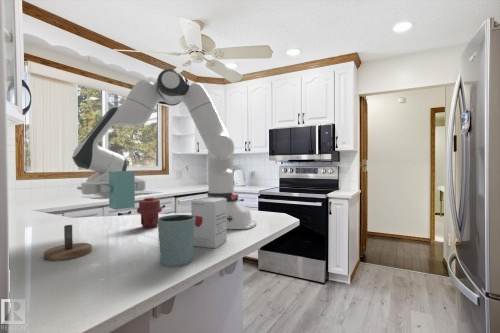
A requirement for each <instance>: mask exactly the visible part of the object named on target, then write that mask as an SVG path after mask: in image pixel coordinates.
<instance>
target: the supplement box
mask: <svg viewBox="0 0 500 333" xmlns="http://www.w3.org/2000/svg"><path fill="white" fill-rule="evenodd" d="M207 197H208V196H205V197H200V198H197V199H192V200H191V206H190V208H191V213H190V214H191V215H192V216H195V218H196V219H195V228H194V246H193V247H201V248H206V249H207V248H208V249H217V248H218V247H219V246H221V245H223V244H224V243H226V242H227V237H228V236H227V230H228V229H227V199H226V198H207Z"/></svg>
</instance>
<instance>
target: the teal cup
mask: <svg viewBox="0 0 500 333" xmlns="http://www.w3.org/2000/svg"><path fill="white" fill-rule="evenodd" d="M195 219H196V218H195V216H192V214H171V215H163V216H159V217H158V219H157V222H158V227H157V230H158V231H157V232H158V242H159V252H160V254H159V256H160V257H159V258H160V263H161V265H162V266H163V267H168V268H176V267H183V266H187V265H189V264H191V263H192V262H193V259H194V247H195V246H194V228H195Z"/></svg>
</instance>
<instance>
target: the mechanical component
mask: <svg viewBox="0 0 500 333" xmlns="http://www.w3.org/2000/svg"><path fill="white" fill-rule="evenodd" d="M162 211H163V207H162V206H161V200H160V199H156V198H155V197H145V198H144V199H143V200H142V199H141V200H139V201H138V208H137V209H136V212H137V214H140V225H141V226H142V227H141V228H142V229H143V230H144V229H149V228H151V229H152V228H153V227H155V228H158V222H157V219H158V218H159V213H161V212H162Z"/></svg>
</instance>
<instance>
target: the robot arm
mask: <svg viewBox="0 0 500 333" xmlns="http://www.w3.org/2000/svg"><path fill="white" fill-rule="evenodd" d="M189 81H190V80H188V78H186V77H185V76H183V75H182V74H181V73H180V72H179V71H177V70H176V69H173V68H167V69H164V70H162V71H161V72H160V73H159V74H158V76H157V79H156V82H153V81H150V80H149V79H148V80H147V79H140V80H138V81H137V82H136V83H135V84H134V85H133V87H131V90H129V93H128V94H127V96H126V98H125V100H124V102H123V103H122V104H120V105H119V106H113V107H111V108H110V109H108V111H106V113H105V114H103V116H102V117H101V118H100V119H99V121H98V122H97V124H95V126H94V127H92V130H91V131H90V132H89V133H88V134H87V136H86V137H85V138H84V139H83V140H82V141H81V143H79V144H78V145H77V147H76V148H75V149H74V150H73V153H72V157H71V158H72V160H73V162H74V164H75V165H76V166H77V167H78V168H81V169H86V170H90V171H93V172H95V173H94V174H92V175H90V176H88V178H87V179H86V181H85V182H81V184H80V186H77V187H76V189H77V190H80V191H81V194H82V195H84V196H87V195H94V196H97V197H100V198H101V197H102V198H105V199H109V192H111V191H113V186H109V171H127V170H128V168H127V167H128V164H127V160H126V157H125V155H123V154H120V153H117V152H116V151H114V150H113V151H112V150H110V149H108V148H106V147H103V146H101V145H99V143H100V142H101V140H102V139H103V138H104V136H105V135H106V134H107V132H108V131H109V130H110V129H111V128H112V127H114V126H116V125H117V126H118V125H119V126H121V125H122V126H130V127H138V126H143V125H145V124H146V123H147V122H148V121H149V119H150V118H151V116H152V114H153V112H154V109H155V108H156V106H157V104H160V105H166V106H171V107H172V106H177V105H178V104H180V103H181V102H182V103H183V104H184V105H185V106H186V108H187V110H188V112H189V115H190V117H191V119H192V120H193V123H194V125H195V127H196V129H197V131H198V133H199V135H200V137H201V140H202V141H203V144H204V145H205V147H206V149H207V152H208V153H207V157H208V158H207V159H208V160H207V163H208V169H207V170H208V171H207V172H208V174H207V176H208V178H207V179H208V180H207V181H208V182H207V183H208V192H207V196H206V197H207V198H226V199H227V230H248V229H253V228H254V227H255V226H257V220H255V219H253V218H252V214H251V211H250V209H249V208H248V207H247V206H246V205H244V204H243V203H241V201H239V193H236V192H235V191H234V189H235V188H234V183H235V182H234V165H233V164H234V163H233V154H234V152H235V143H234V140H233V139H232V137H231V135H230V133H229V132H228V130H227V128H226V126H225V124H224V122H223V121H222V119H221V117H220V115H219V113H218V110H217V108H216V106H215V104H214V102H213V100H212V98H211V96H210V94H209V92H207V90H206V88H205V87H204V86H203V85H202V84H201V83H200V82H192V83H190V82H189ZM145 190H146V181H145V180H144V179H142V178H136V177H135V192H143V191H145Z"/></svg>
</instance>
